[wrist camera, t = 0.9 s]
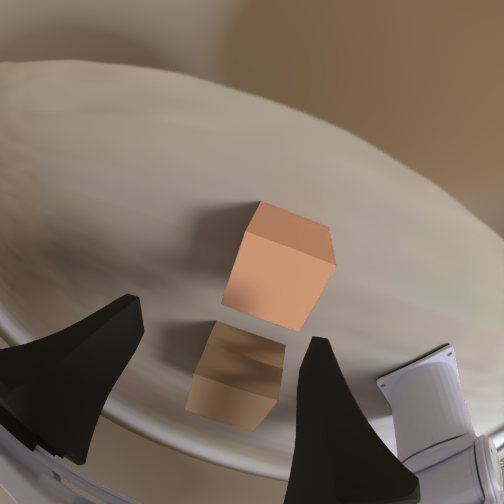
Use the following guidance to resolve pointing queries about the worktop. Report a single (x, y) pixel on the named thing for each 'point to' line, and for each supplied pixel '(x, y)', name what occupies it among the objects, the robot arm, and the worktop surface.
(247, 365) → the tower top
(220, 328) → the tower base
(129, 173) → the worktop surface
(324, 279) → the terracotta block
